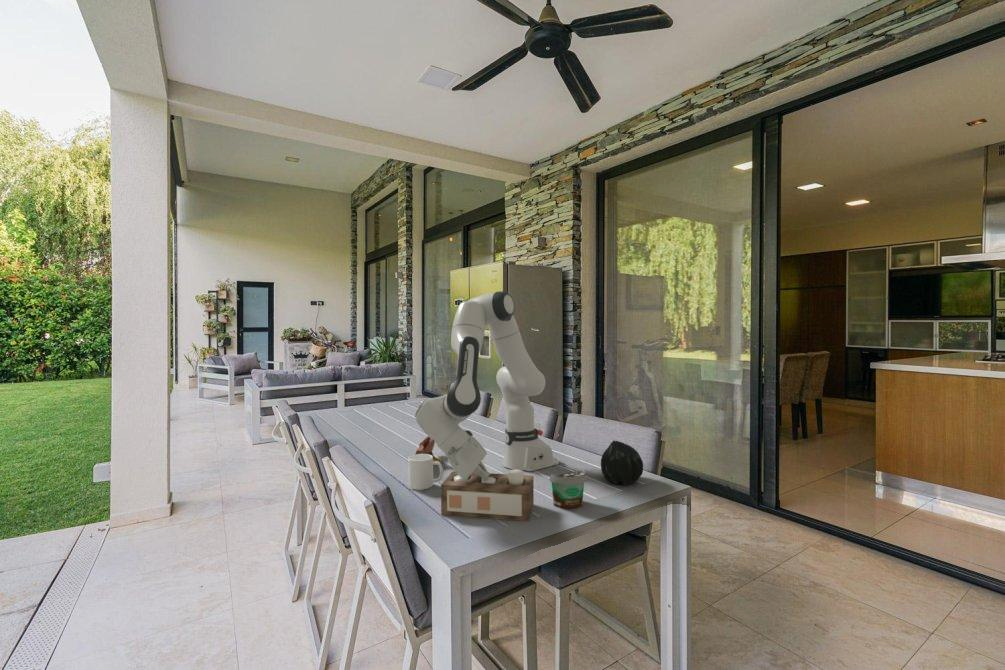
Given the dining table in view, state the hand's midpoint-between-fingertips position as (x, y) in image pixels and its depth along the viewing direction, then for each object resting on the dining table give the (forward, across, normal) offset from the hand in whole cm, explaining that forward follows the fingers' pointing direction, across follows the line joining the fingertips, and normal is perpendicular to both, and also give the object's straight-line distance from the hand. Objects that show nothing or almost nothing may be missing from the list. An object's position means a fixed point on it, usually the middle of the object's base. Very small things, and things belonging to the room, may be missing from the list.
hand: (487, 477), depth 139 cm
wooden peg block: (+7, 0, +7) cm, 10 cm away
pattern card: (+6, -6, +6) cm, 10 cm away
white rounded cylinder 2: (+8, 0, -4) cm, 9 cm away
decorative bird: (-16, +40, +30) cm, 53 cm away
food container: (+25, +7, -11) cm, 28 cm away
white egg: (-2, 0, +10) cm, 10 cm away
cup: (-11, +15, +25) cm, 31 cm away
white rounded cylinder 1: (+4, 0, +4) cm, 6 cm away
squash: (+36, +32, -22) cm, 53 cm away
